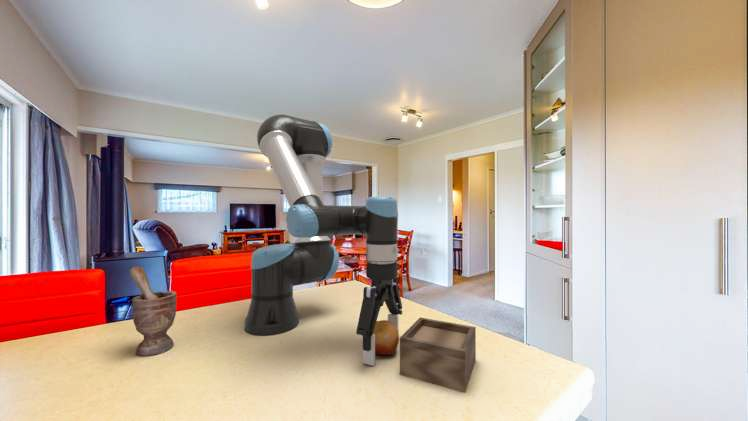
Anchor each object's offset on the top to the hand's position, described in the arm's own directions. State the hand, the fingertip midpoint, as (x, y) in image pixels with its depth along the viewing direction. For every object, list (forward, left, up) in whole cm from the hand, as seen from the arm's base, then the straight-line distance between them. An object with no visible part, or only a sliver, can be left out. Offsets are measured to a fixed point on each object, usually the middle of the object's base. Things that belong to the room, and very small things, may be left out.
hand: (381, 351), depth 69 cm
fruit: (0, 0, 0) cm, 0 cm away
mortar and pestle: (-51, -25, 0) cm, 57 cm away
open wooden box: (+14, 0, 0) cm, 14 cm away
